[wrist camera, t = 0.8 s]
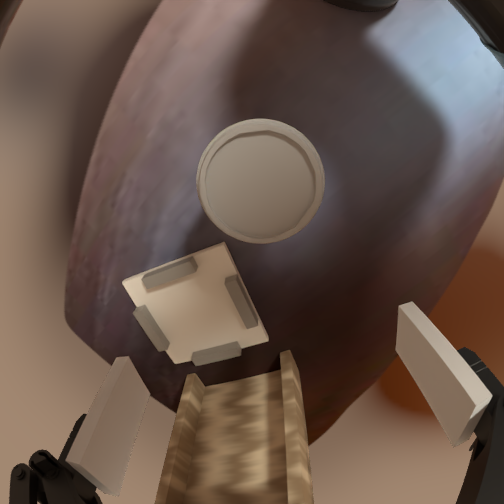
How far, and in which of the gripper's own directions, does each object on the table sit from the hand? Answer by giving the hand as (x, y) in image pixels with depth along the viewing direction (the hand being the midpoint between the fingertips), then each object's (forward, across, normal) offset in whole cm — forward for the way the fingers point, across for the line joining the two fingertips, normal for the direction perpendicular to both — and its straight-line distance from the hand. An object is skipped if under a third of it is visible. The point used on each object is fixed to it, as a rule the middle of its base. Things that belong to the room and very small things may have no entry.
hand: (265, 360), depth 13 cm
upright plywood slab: (+24, -7, -22) cm, 33 cm away
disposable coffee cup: (+22, +2, +7) cm, 23 cm away
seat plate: (+23, -10, -9) cm, 27 cm away
